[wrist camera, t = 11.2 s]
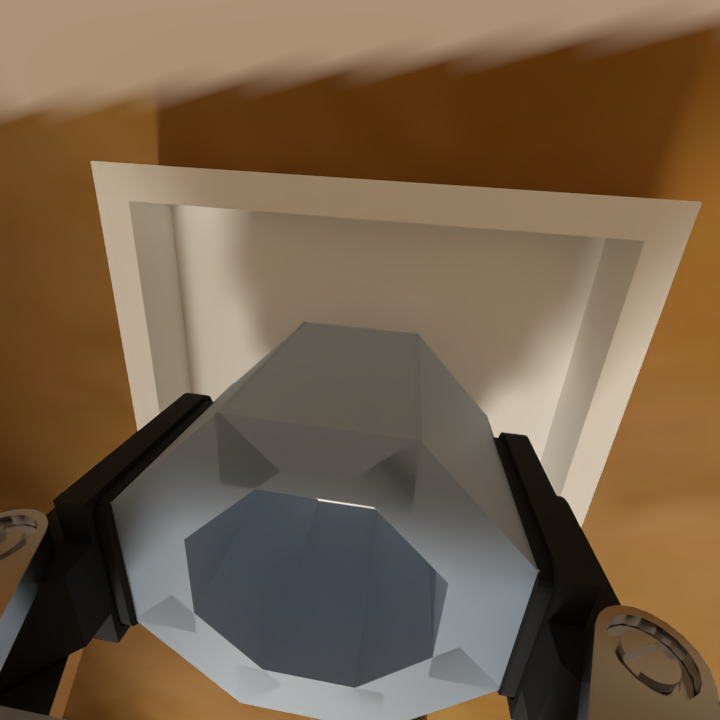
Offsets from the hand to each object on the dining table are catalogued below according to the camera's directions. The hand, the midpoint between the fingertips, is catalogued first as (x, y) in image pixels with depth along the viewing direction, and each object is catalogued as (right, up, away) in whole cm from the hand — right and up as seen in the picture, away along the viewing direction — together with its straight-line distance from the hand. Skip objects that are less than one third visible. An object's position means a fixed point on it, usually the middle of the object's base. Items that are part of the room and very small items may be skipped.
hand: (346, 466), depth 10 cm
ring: (0, 0, +1) cm, 1 cm away
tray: (0, +1, +3) cm, 4 cm away
